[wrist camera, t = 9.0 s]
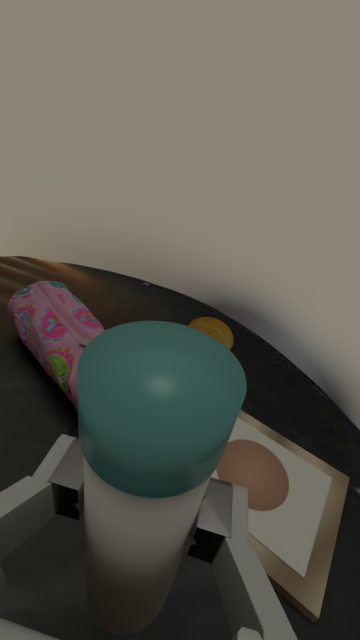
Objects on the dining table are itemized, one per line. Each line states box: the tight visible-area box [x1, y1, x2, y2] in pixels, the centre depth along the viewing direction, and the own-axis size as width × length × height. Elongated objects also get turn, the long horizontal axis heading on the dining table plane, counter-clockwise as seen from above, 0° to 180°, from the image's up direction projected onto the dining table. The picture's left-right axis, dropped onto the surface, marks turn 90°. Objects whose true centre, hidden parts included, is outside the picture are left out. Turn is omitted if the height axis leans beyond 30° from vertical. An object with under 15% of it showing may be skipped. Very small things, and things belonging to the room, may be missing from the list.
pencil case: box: [7, 281, 105, 415], centre depth 35 cm, size 21×9×9 cm, turn 42°
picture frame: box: [211, 410, 349, 623], centre depth 28 cm, size 16×13×1 cm
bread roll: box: [188, 317, 233, 350], centre depth 46 cm, size 8×9×4 cm
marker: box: [77, 321, 246, 635], centre depth 10 cm, size 4×4×12 cm
